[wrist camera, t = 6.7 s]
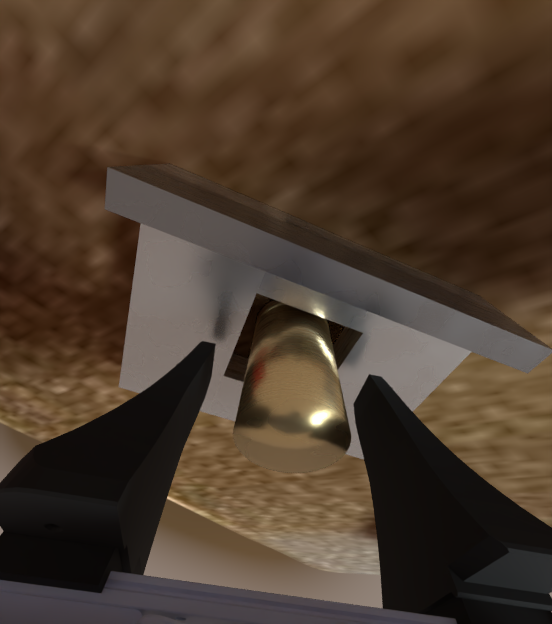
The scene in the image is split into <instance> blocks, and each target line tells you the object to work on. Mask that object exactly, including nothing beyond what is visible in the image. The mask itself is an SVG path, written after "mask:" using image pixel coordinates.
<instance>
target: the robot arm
mask: <svg viewBox="0 0 552 624" xmlns="http://www.w3.org/2000/svg"><path fill="white" fill-rule="evenodd" d="M215 346H216V344H215V343H210V342H205V341H201V342H200V343H199V344H198V345H197V346H196V347H195V348H194V349H193V350H192V351H191V352H190V353H189V354H188V355H187V356H186V357H185V358H184V359H183V360H182V361H180V362H179V363H178V364H177V365H176V366H175V367H174V368H173V369H171V370H170V371H169V372H168V373H167V374H165V375H164V376H163V377H161V378H160V379H159V380H158V381H156V382H155V383H154V384H152V385H151V386H150V387H148V388H147V389H145V390H144V391H142V392H141V393H139V394H138V395H136V396H135V397H133V398H132V399H130V400H128V401H127V402H125V403H124V404H122V405H120V406H119V407H117V408H115V409H113V410H112V411H110V412H108V413H106V414H104V415H102V416H100V417H98V418H96V419H94V420H93V421H91V422H89V423H87V424H85V425H83V426H81V427H79V428H76V429H74V430H72V431H70V432H68V433H65V434H63V435H61V436H58V437H56V438H53V439H51V440H49V441H46V442H44V443H42V444H39V445H37V446H35V447H34V448H33V449H32V450H31V451H30V452H29V453H28V454H27V455H26V456H25V457H23V458H22V459H21V460H20V462H18V464H17V465H16V466H15V467H14V468H13V469H12V470H11V471H10V472H9V474H8V475H7V476H6V477H5V478H4V479H3V480H2V481H1V483H0V526H1V528H2V529H3V531H4V532H3V533H2V534H1V536H0V624H552V612H551V611H552V598H551V597H550V595H549V593H550V592H552V528H551V527H550V526H548V525H547V524H545V523H544V522H542V521H541V520H539V519H538V518H536V517H535V516H533V515H532V514H530V513H529V512H527V511H526V510H524V509H523V508H521V507H520V506H519V505H517V504H516V503H515V502H513V501H512V500H510V499H509V498H508V497H506V496H505V495H504V494H502V493H501V492H500V491H498V490H497V489H496V488H494V487H493V486H492V485H490V484H489V483H488V482H487V481H485V480H484V479H483V478H482V477H480V476H479V475H478V474H477V473H476V472H474V471H473V470H472V469H471V468H470V467H468V466H467V465H466V464H465V463H464V462H463V461H461V460H460V459H459V458H458V457H457V456H456V455H455V454H454V453H452V452H451V451H450V450H449V449H448V448H447V447H446V446H445V445H444V444H443V443H442V442H441V441H440V440H439V439H438V438H437V437H436V436H435V435H434V434H433V433H432V432H431V431H430V430H429V429H428V428H427V427H426V426H425V425H424V424H423V423H422V422H421V421H420V420H419V419H418V417H417V416H416V415H415V414H414V413H413V412H412V411H411V410H410V408H409V407H408V406H407V405H406V404H405V403H404V402H403V400H402V399H401V398H400V397H399V396H398V395H397V393H396V392H395V391H394V390H393V389H392V388H391V386H390V385H389V384H388V383H387V382H386V381H385V380H384V379H383V378H382V377H381V376H376V375H371V374H369V375H368V377H367V379H366V381H365V383H364V385H363V386H362V388H361V390H360V392H359V394H358V396H357V398H356V400H355V402H354V404H353V405H354V415H355V423H356V428H357V433H358V437H359V441H360V445H361V449H362V453H363V457H364V461H365V465H366V469H367V473H368V477H369V482H370V487H371V494H372V500H373V507H374V514H375V522H376V530H377V539H378V549H379V560H380V572H381V584H382V585H381V586H382V600H383V601H382V602H383V609H382V608H374V607H367V606H360V605H353V604H346V603H339V602H331V601H324V600H316V599H310V598H302V597H295V596H288V595H281V594H274V593H266V592H260V591H252V590H245V589H238V588H230V587H224V586H216V585H209V584H202V583H195V582H187V581H181V580H173V579H166V578H158V577H151V576H145V575H143V574H144V570H145V567H146V564H147V560H148V557H149V554H150V550H151V547H152V544H153V541H154V537H155V534H156V531H157V527H158V524H159V521H160V518H161V515H162V512H163V508H164V505H165V502H166V499H167V496H168V493H169V490H170V486H171V483H172V480H173V477H174V474H175V471H176V468H177V465H178V462H179V459H180V456H181V453H182V451H183V448H184V445H185V443H186V441H187V438H188V436H189V434H190V431H191V429H192V427H193V425H194V422H195V420H196V418H197V415H198V413H199V411H200V408H201V406H202V404H203V402H204V399H205V397H206V394H207V390H208V387H209V384H210V381H211V377H212V370H213V362H214V354H215Z"/></svg>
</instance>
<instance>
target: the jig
mask: <svg viewBox="0 0 552 624" xmlns="http://www.w3.org/2000/svg"><path fill="white" fill-rule="evenodd" d="M105 210H108V211H111V212H113V213H116V214H118V215H121V216H123V217H126V218H129V219H131V220H134V221H136V222H139V223H141V225H140V232H139V240H138V247H137V255H136V262H135V270H134V277H133V285H132V292H131V300H130V307H129V315H128V322H127V330H126V337H125V345H124V352H123V360H122V367H121V375H120V382H119V387H120V388H124V389H127V390H131V391H134V392H137V393H141V392H142V391H144V390H145V389H147V388H148V387H150V386H151V385H152V384H154V383H155V382H156V381H158V380H159V379H160V378H161V377H163V376H164V375H165V374H167V373H168V372H169V371H170V370H171V369H173V368H174V367H175V366H176V365H177V364H178V363H179V362H180V361H182V360H183V359H184V358H185V357H186V356H187V355H188V354H189V353H190V352H191V351H192V350H193V349H194V348H195V347H196V346H197V345H198V344H199V343H200V342H201V341H205V342H210V343H215V344H216V346H215V354H214V362H213V370H212V377H211V381H210V384H209V387H208V390H207V394H206V397H205V399H204V402H203V404H202V406H201V408H200V411H202V412H205V413H208V414H212V415H215V416H219V417H222V418H225V419H229V420H232V421H235V420H236V415H237V411H238V406H239V401H240V397H241V392H242V387H243V383H244V378H245V373H246V369H247V364H248V358H245V357H242V356H239V355H236V354H233V351H234V348H235V346H236V343H237V341H238V338H239V336H240V333H241V331H242V328H243V326H244V323H245V321H246V318H247V316H248V313H249V311H250V308H251V306H252V303H253V301H254V298H255V296H256V293H258V294H260V295H263V296H266V297H268V298H271V299H274V300H276V301H279V302H282V303H284V304H287V305H290V306H292V307H295V308H298V309H301V310H303V311H306V312H309V313H311V314H314V315H317V316H319V317H322V318H325V319H327V320H330V321H333V322H335V323H338V324H341V325H343V326H345V328H344V329H343V331H342V333H341V334H340V336H339V337H338V339H337V340H336V342H335V344H334V345H333V351H334V356H335V360H336V365H337V370H338V374H339V379H340V384H341V389H342V393H343V398H344V403H345V407H346V412H347V417H348V422H349V426H350V431H351V443H350V446H349V449H348V451H347V452H346V453H345V454H347V455H351V456H354V457H357V458H361V459H364V457H363V453H362V449H361V445H360V441H359V437H358V433H357V428H356V423H355V415H354V405H353V404H354V402H355V400H356V398H357V396H358V394H359V392H360V390H361V388H362V386H363V385H364V383H365V381H366V379H367V377H368V375H369V374H371V375H376V376H381V377H382V378H383V379H384V380H385V381H386V382H387V383H388V384H389V385H390V386H391V388H392V389H393V390H394V391H395V392H396V393H397V395H398V396H399V397H400V398H401V399H402V400H403V402H404V403H405V404H406V405H407V406H408V407H409V408H410V410H411V411H412V412H413V411H414V410H415V409H416V408H417V407H418V406H419V405H420V404H421V403H422V401H423V400H424V399H425V398H426V397H427V396H428V395H429V394H430V393H431V392H432V391H433V390H434V389H435V388H436V387H437V386H438V385H439V384H440V383H441V382H442V381H443V380H444V379H445V378H446V377H447V376H448V375H449V374H450V373H451V372H452V371H453V370H454V369H455V368H456V367H457V366H458V365H459V364H460V363H461V362H462V361H463V360H464V359H465V358H466V357H467V356H468V355H469V354H470V353H471V352H474V353H477V354H479V355H482V356H484V357H487V358H489V359H492V360H495V361H497V362H500V363H502V364H505V365H508V366H510V367H513V368H515V369H518V370H520V371H523V372H526V373H529V372H530V371H531V370H532V369H533V368H535V367H536V366H537V365H538V364H539V363H541V362H542V361H543V360H544V359H545V358H546V357H548V356H549V355H550V354H551V353H552V349H551V348H550V347H549V346H547V345H546V344H545V343H543V342H542V341H541V340H539V339H538V338H536V337H535V336H534V335H532V334H531V333H530V332H528V331H527V330H526V329H524V328H523V327H521V326H520V325H519V324H517V323H516V322H515V321H513V320H512V319H511V318H509V317H508V316H506V315H505V314H504V313H502V312H501V311H500V310H498V309H497V308H495V307H494V306H493V305H491V304H490V303H489V302H487V301H486V300H485V299H483V298H482V297H480V296H479V295H476V294H474V293H472V292H469V291H467V290H465V289H462V288H460V287H458V286H455V285H453V284H451V283H448V282H446V281H444V280H441V279H439V278H437V277H434V276H432V275H430V274H427V273H425V272H423V271H420V270H418V269H416V268H413V267H411V266H409V265H406V264H404V263H402V262H399V261H397V260H395V259H392V258H390V257H388V256H385V255H383V254H380V253H378V252H376V251H373V250H371V249H369V248H366V247H364V246H362V245H359V244H357V243H355V242H352V241H350V240H348V239H345V238H343V237H341V236H338V235H336V234H334V233H331V232H329V231H327V230H324V229H322V228H320V227H317V226H315V225H313V224H310V223H308V222H306V221H303V220H301V219H299V218H296V217H294V216H292V215H289V214H287V213H284V212H282V211H280V210H277V209H275V208H273V207H270V206H268V205H266V204H263V203H261V202H259V201H256V200H254V199H252V198H249V197H247V196H245V195H242V194H240V193H238V192H235V191H233V190H231V189H228V188H226V187H224V186H221V185H219V184H217V183H214V182H212V181H210V180H207V179H205V178H203V177H200V176H198V175H196V174H193V173H191V172H188V171H186V170H184V169H181V168H179V167H177V166H174V165H172V164H154V165H135V166H116V167H107V182H106V197H105Z"/></svg>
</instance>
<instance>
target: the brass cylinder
mask: <svg viewBox="0 0 552 624" xmlns="http://www.w3.org/2000/svg"><path fill="white" fill-rule="evenodd" d="M233 439H234V442H235V445H236V447H237V448H238V450H239V451H240V452H241V453H242V454H243V455H244V456H245V457H246V458H247V459H248V460H250V461H251V462H253V463H255V464H257V465H259V466H261V467H264V468H266V469H270V470H273V471H278V472H285V473H305V472H311V471H316V470H320V469H323V468H326V467H328V466H330V465H332V464H334V463H335V462H337V461H338V460H339V459H341V458H342V457H343V456H344V455H345V453H346V452H347V451H348V449H349V446H350V443H351V431H350V426H349V422H348V417H347V412H346V407H345V403H344V398H343V393H342V389H341V384H340V379H339V374H338V370H337V365H336V360H335V356H334V351H333V346H332V341H331V337H330V330H329V325H328V321H327V319H325V318H322V317H319V316H317V315H314V314H311V313H309V312H306V311H303V310H301V309H298V308H295V307H292V306H290V305H287V304H284V303H282V302H279V301H276V300H274V299H273V300H271V301H270V302H268V303H267V304H266V305H265V306H264V307H263V308H262V309H261V311H260V312H259V314H258V317H257V320H256V325H255V330H254V336H253V341H252V345H251V350H250V355H249V359H248V364H247V369H246V373H245V378H244V383H243V387H242V392H241V397H240V401H239V406H238V411H237V415H236V420H235V425H234V430H233Z"/></svg>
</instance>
